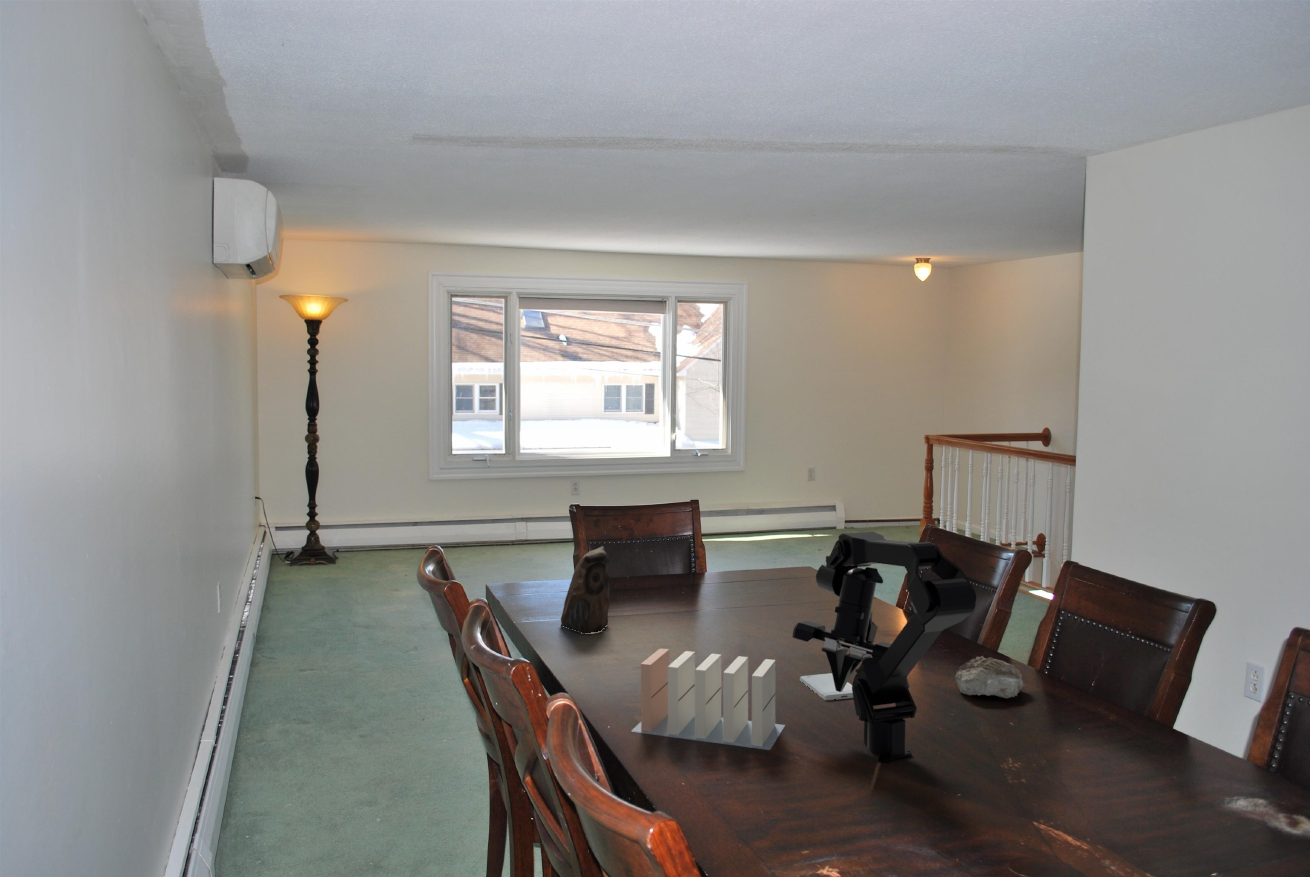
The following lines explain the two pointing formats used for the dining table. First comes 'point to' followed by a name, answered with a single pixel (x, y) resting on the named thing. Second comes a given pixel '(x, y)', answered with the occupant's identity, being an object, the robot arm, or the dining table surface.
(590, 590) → the owl
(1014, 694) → the rock
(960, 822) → the dining table surface
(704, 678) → the domino
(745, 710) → the domino
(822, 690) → the hard drive
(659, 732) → the board
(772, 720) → the domino
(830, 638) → the robot arm
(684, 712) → the domino
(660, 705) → the domino
